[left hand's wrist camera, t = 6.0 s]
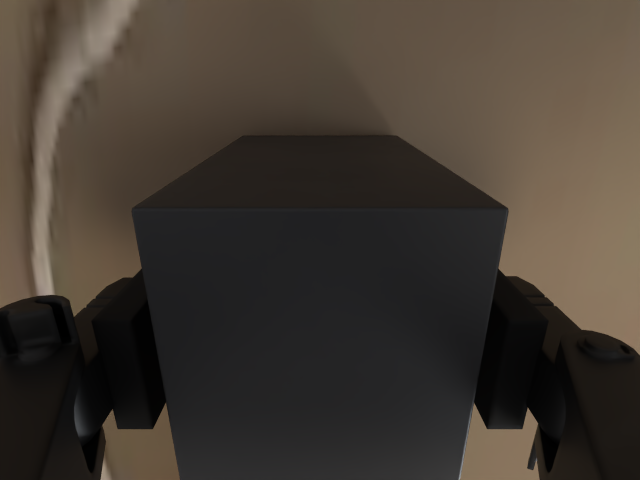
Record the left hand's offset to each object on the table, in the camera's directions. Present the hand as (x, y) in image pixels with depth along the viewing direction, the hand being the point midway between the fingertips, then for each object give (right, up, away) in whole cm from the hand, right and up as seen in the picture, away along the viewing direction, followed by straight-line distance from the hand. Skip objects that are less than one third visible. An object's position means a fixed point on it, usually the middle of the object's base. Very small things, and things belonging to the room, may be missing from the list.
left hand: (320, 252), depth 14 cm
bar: (0, -9, +4) cm, 10 cm away
